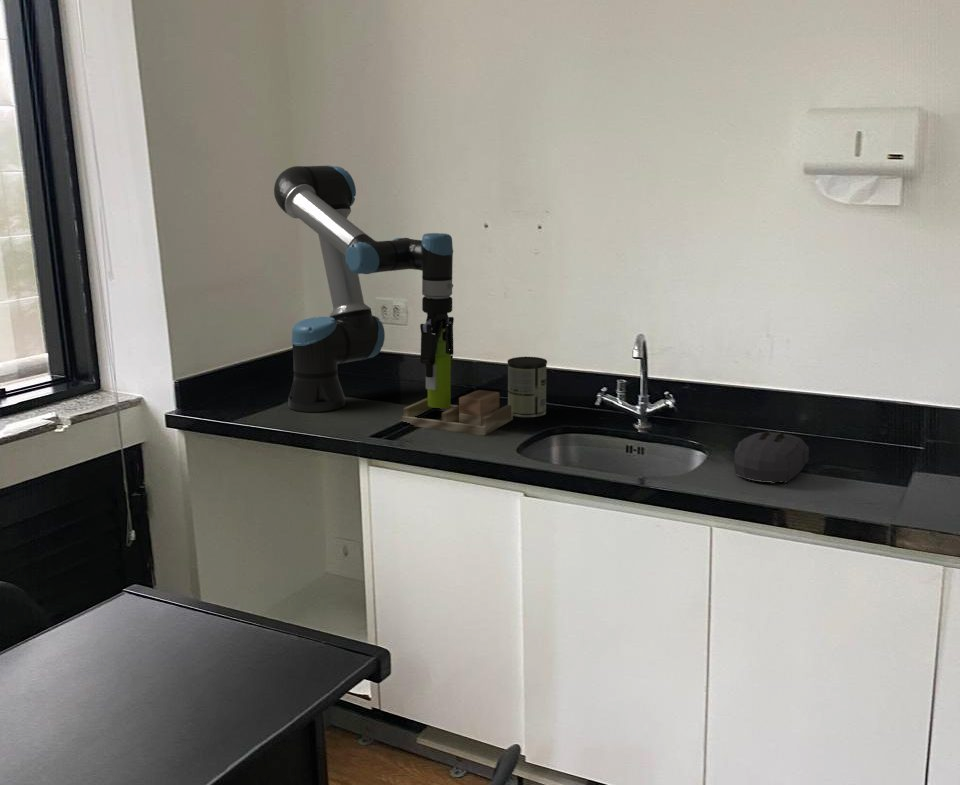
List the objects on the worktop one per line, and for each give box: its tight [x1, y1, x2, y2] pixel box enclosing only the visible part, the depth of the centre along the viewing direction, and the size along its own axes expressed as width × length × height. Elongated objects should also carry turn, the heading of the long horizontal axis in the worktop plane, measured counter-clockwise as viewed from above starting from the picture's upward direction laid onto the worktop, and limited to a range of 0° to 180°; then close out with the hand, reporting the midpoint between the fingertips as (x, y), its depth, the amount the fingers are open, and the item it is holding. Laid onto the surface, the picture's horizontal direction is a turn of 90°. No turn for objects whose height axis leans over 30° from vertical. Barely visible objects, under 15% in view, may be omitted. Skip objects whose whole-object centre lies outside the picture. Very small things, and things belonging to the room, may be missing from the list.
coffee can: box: [507, 356, 548, 418], centre depth 266 cm, size 10×10×14 cm
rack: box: [400, 397, 514, 436], centre depth 258 cm, size 23×17×4 cm
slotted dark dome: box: [733, 430, 810, 482], centre depth 217 cm, size 15×8×20 cm
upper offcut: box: [458, 389, 500, 416], centre depth 254 cm, size 6×10×4 cm, turn 151°
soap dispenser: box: [427, 328, 452, 408], centre depth 257 cm, size 6×7×20 cm
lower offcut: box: [459, 408, 499, 426], centre depth 255 cm, size 6×10×4 cm, turn 155°
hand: (437, 386), depth 259 cm, fingers closed on soap dispenser, 6 cm apart
